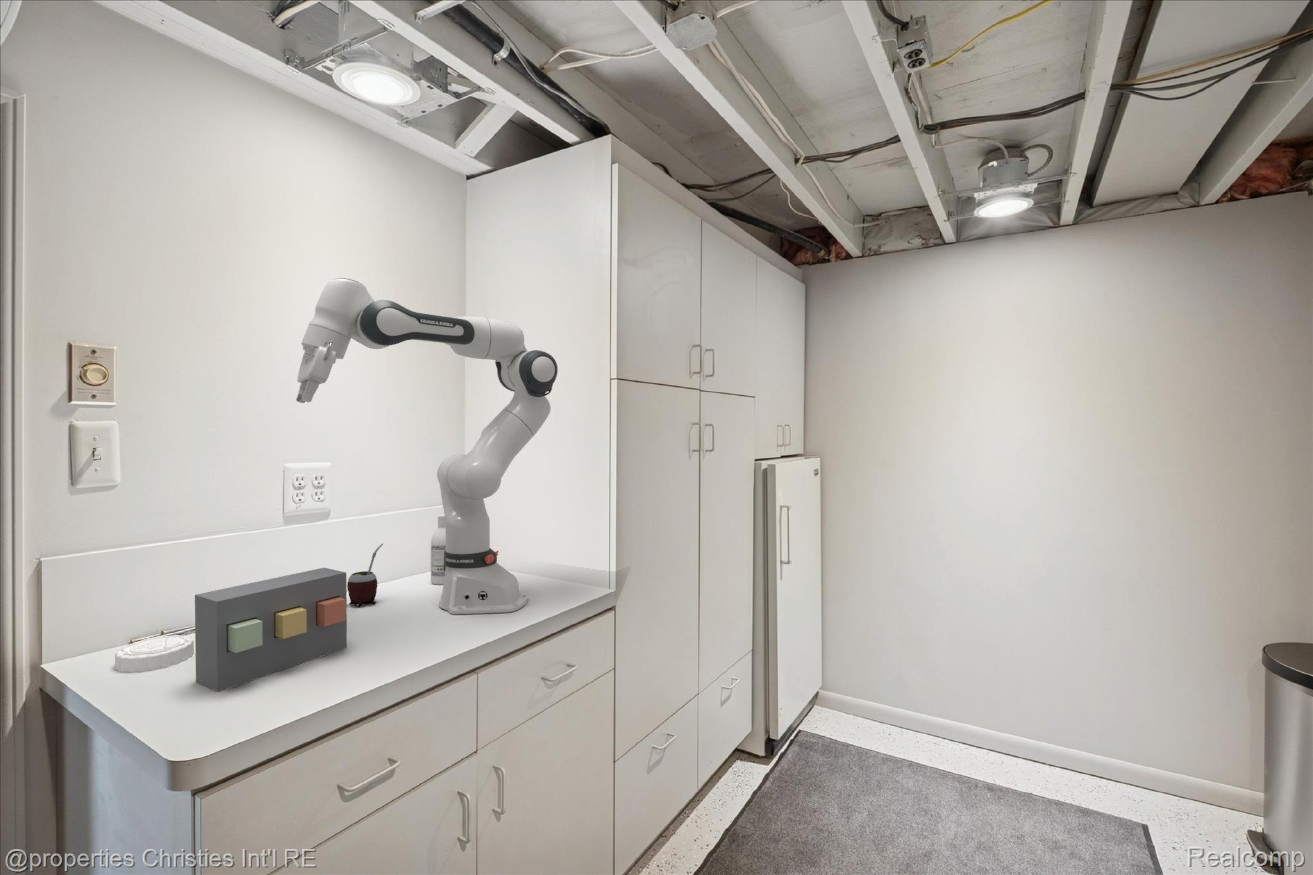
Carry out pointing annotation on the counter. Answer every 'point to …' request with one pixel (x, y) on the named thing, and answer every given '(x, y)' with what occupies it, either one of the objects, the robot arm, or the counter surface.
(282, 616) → the button ochre
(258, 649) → the console
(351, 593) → the mate gourd
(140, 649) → the mooncake
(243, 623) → the button sage
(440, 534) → the bath foam
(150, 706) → the counter surface
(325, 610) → the button brick
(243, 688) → the counter surface
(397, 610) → the counter surface
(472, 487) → the robot arm
